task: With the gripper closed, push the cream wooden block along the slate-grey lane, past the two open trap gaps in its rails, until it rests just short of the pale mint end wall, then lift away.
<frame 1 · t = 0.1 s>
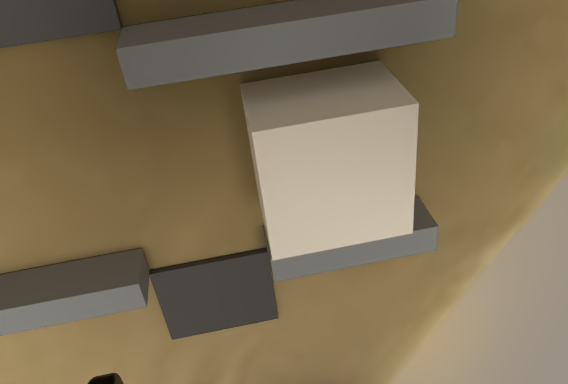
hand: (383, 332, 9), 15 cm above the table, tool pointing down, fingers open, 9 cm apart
block: (315, 133, 24), on the table
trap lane: (160, 162, 23), on the table
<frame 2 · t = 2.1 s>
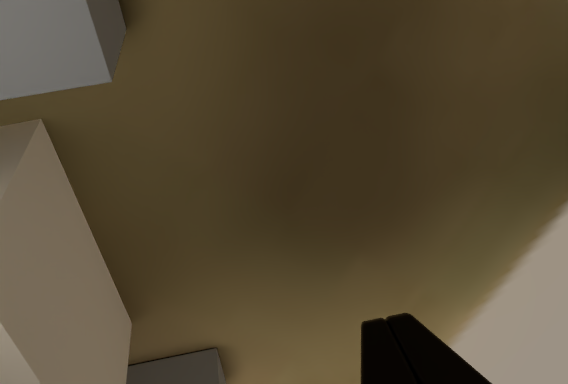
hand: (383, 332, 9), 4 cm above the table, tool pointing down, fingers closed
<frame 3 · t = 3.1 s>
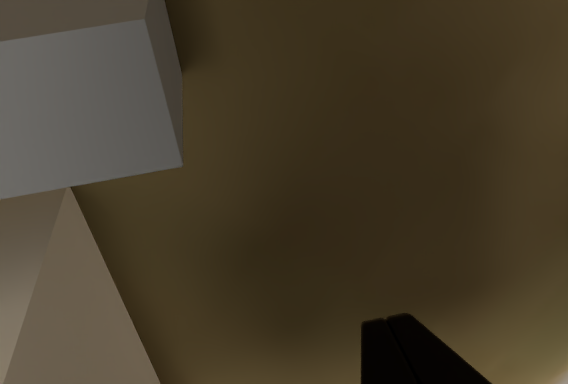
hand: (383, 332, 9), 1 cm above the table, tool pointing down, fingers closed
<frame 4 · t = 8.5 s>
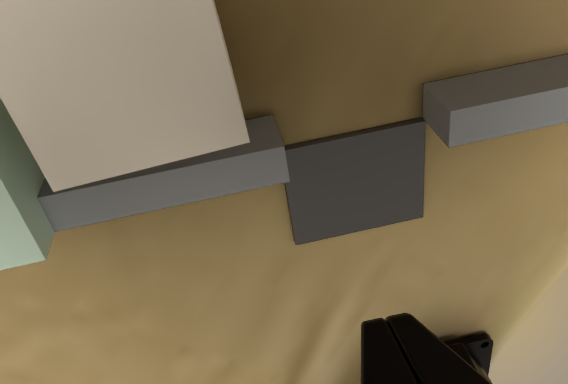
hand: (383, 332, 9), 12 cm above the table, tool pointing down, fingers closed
block: (127, 23, 17), on the table
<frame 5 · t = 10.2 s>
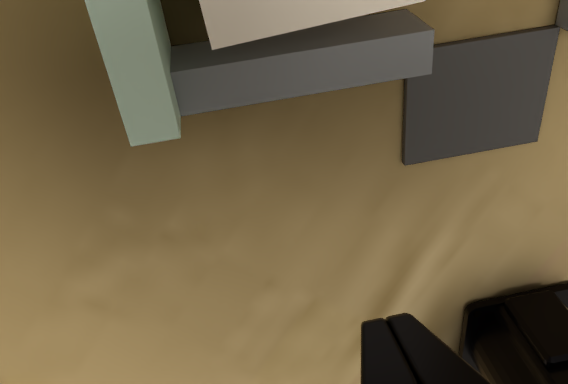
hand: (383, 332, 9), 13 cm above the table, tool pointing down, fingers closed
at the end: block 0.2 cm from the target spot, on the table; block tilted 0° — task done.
